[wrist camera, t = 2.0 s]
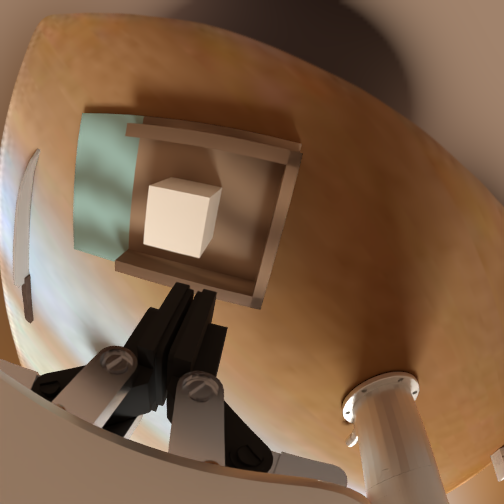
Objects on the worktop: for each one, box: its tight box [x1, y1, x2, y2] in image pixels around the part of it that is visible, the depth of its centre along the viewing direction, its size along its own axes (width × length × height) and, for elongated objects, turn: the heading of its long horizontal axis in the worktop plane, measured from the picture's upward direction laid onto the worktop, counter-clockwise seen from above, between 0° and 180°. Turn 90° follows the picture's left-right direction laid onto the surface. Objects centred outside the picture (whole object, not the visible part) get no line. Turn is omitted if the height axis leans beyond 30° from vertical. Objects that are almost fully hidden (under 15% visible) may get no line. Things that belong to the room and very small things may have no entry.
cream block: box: [143, 177, 222, 258], centre depth 24 cm, size 5×5×5 cm
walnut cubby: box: [73, 113, 303, 310], centre depth 25 cm, size 16×23×4 cm
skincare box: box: [490, 447, 504, 481], centre depth 44 cm, size 8×6×15 cm
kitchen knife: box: [13, 149, 40, 323], centre depth 30 cm, size 4×1×30 cm
